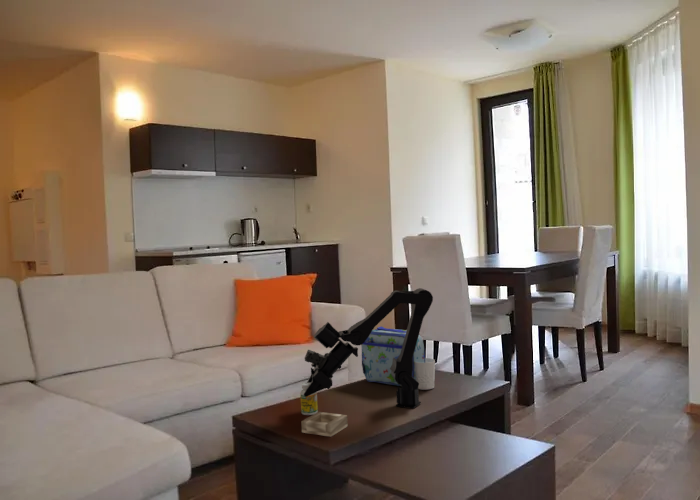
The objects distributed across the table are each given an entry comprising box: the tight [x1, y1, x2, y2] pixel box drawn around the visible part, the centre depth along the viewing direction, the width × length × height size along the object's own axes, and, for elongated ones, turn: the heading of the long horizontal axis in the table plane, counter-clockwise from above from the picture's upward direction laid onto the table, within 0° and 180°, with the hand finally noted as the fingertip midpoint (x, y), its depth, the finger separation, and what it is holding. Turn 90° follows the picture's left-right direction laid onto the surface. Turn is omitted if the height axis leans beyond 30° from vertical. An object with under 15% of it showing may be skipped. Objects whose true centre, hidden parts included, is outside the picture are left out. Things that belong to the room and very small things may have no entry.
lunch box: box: [360, 326, 426, 387], centre depth 232 cm, size 26×11×21 cm, turn 46°
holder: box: [301, 411, 348, 437], centre depth 182 cm, size 10×10×3 cm
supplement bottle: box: [299, 382, 319, 416], centre depth 199 cm, size 5×5×10 cm
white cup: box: [415, 357, 436, 391], centre depth 223 cm, size 8×8×10 cm
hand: (304, 393), depth 198 cm, fingers closed on supplement bottle, 5 cm apart
